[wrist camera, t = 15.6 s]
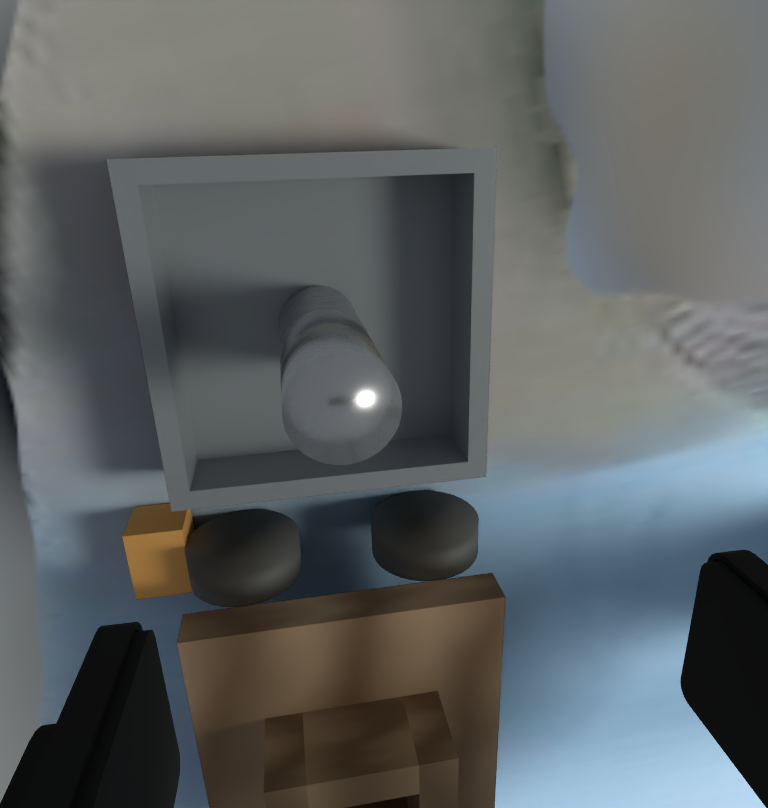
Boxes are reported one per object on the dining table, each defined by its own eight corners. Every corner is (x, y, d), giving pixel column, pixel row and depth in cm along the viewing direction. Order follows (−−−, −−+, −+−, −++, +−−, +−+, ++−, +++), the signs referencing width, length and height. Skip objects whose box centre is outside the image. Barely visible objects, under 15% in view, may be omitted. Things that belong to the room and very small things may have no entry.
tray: (466, 150, 30) (497, 147, 26) (461, 441, 36) (486, 476, 32) (131, 160, 28) (106, 158, 24) (184, 469, 34) (171, 511, 30)
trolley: (461, 486, 37) (622, 761, 20) (456, 764, 46) (565, 1123, 29) (192, 516, 35) (110, 856, 18) (241, 803, 44) (218, 1218, 26)
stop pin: (355, 282, 31) (401, 348, 20) (358, 358, 32) (403, 458, 21) (274, 287, 30) (276, 357, 19) (282, 364, 32) (287, 470, 21)
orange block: (189, 501, 35) (182, 529, 32) (199, 559, 36) (193, 592, 33) (134, 506, 34) (122, 536, 31) (146, 566, 36) (136, 599, 33)
